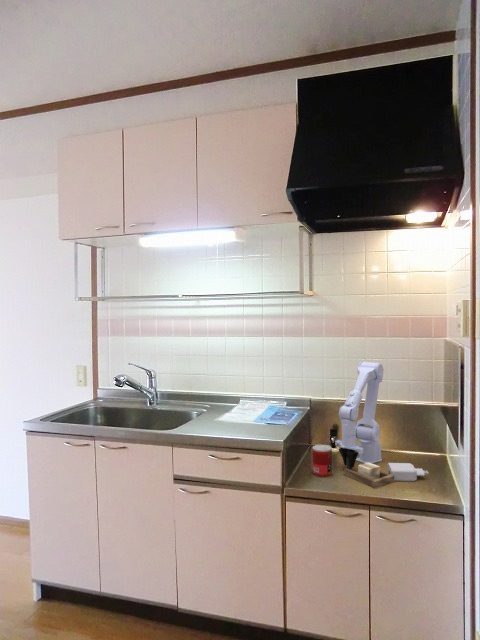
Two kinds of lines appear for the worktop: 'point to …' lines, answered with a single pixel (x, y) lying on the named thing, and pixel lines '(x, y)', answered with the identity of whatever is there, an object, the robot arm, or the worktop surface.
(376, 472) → the cream grey uneven dumbbell
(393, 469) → the charger
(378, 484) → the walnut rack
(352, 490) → the worktop surface
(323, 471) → the canned food
